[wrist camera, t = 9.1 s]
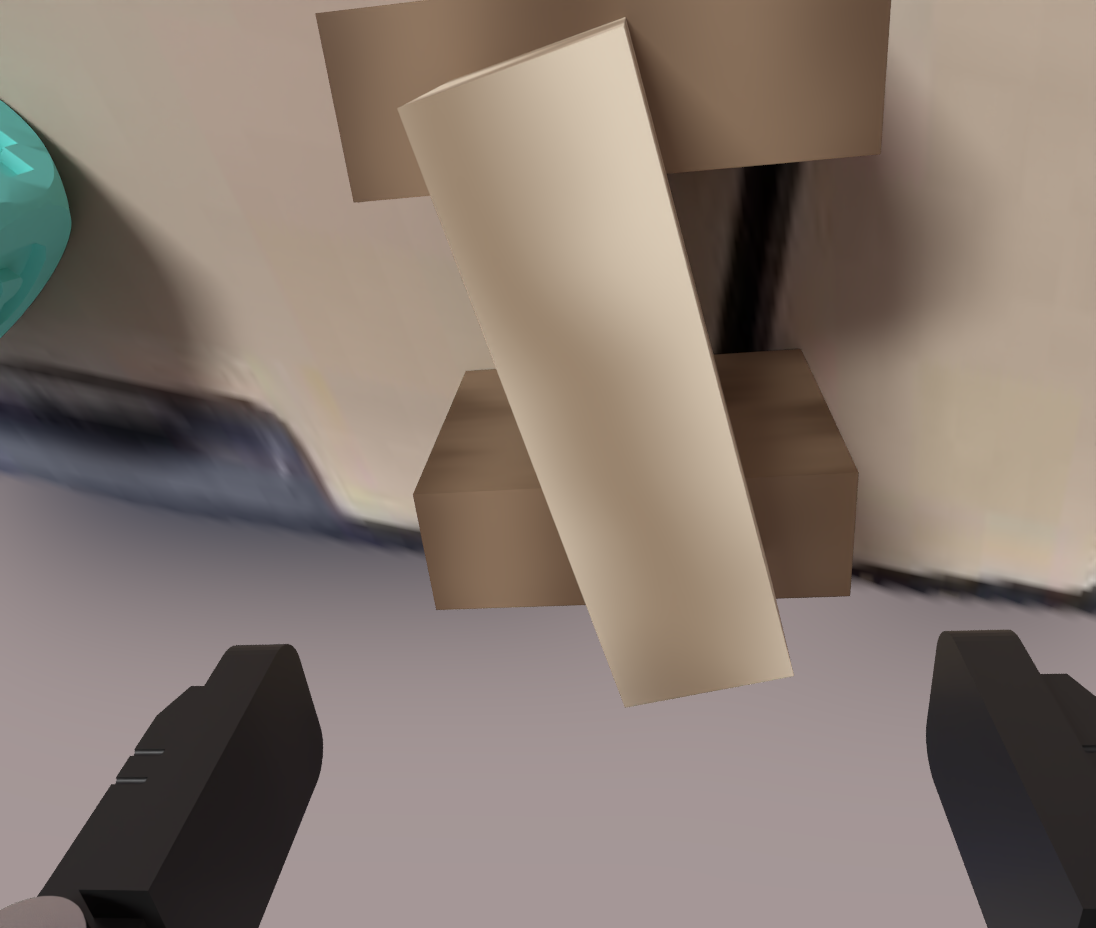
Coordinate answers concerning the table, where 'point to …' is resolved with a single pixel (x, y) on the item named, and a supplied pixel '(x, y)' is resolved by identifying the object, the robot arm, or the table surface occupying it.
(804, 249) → the table surface
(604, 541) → the maple beam
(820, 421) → the slotted shelf
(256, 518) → the table surface
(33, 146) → the decorative dice
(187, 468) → the table surface
